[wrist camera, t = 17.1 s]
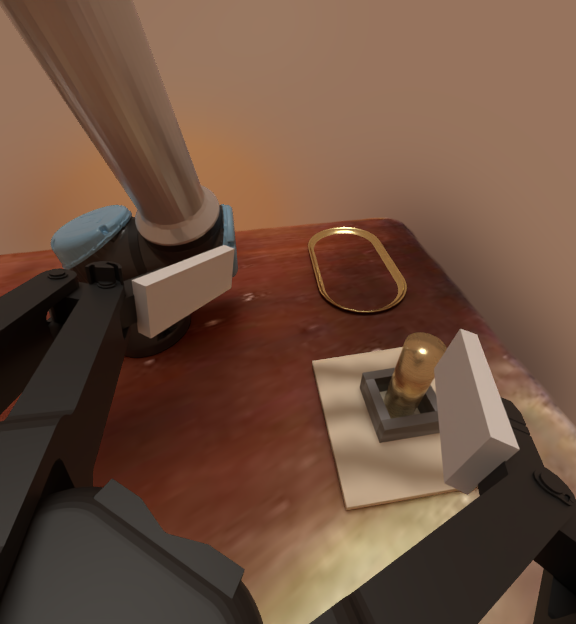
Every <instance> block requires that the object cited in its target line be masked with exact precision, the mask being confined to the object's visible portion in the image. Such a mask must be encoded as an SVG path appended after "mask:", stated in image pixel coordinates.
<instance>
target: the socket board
mask: <svg viewBox="0 0 576 624" xmlns="http://www.w3.org/2000/svg"><path fill="white" fill-rule="evenodd" d="M402 348H403V347H400V348H394V349H387V350H381V351H374V352H368V353H361V354H355V355H348V356H342V357H335V358H329V359H322V360H316V361H312V367H313V371H314V375H315V380H316V384H317V388H318V393H319V397H320V401H321V406H322V410H323V414H324V418H325V423H326V427H327V431H328V436H329V440H330V444H331V448H332V453H333V457H334V461H335V466H336V470H337V474H338V479H339V483H340V487H341V491H342V496H343V500H344V504H345V509H346V510H351V509H357V508H363V507H368V506H374V505H380V504H386V503H391V502H397V501H403V500H408V499H414V498H420V497H425V496H431V495H437V494H442V493H448V492H454V491H459V490H457V489H455V488H453V487H451V486H449V485H447V484H445V483H444V475H443V464H442V453H441V442H440V430H439V419H438V408H437V397H436V386H435V378H434V379H433V381H432V383H431V384H430V386H429V388H428V390H427V391H426V393H425V395H424V396H423V398H422V400H421V401H420V403H419V405H418V407H417V408H416V410H415V412H414V413H413V415H410V416H404V417H398V418H390V416H389V413H388V411H387V409H386V406H385V404H384V401H383V399H384V397H385V394H386V391H387V389H388V386H389V383H390V380H391V378H392V375H393V372H394V370H395V367H396V364H397V362H398V359H399V356H400V354H401V351H402ZM477 487H478V486H477Z"/></svg>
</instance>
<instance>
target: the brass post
mask: <svg viewBox="0 0 576 624" xmlns="http://www.w3.org/2000/svg"><path fill="white" fill-rule="evenodd" d="M446 350H447V348H446V346H445V344H444V343H443V342H442V341H441V340H440V339H438V338H437V337H435V336H433V335H431V334H427V333H414V334H411V335H409V336H408V337H407V338H406V340H405V343H404V346H403V348H402V351H401V354H400V356H399V359H398V362H397V364H396V367H395V370H394V372H393V375H392V378H391V380H390V383H389V386H388V389H387V391H386V394H385V397H384V399H383V401H384V404H385V406H386V409H387V411H388V413H389V416H390V418H398V417H404V416H410V415H413V413H414V412H415V410H416V408H417V407H418V405H419V403H420V401H421V400H422V398H423V396H424V395H425V393H426V391H427V390H428V388H429V386H430V384H431V383H432V381H433V379H434V378H435V375H434V368H435V366H436V365H437V363H438V362H439V360H440V359H441V357H442V356H443V354H444V353H445V351H446Z"/></svg>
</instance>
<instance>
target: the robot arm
mask: <svg viewBox="0 0 576 624" xmlns="http://www.w3.org/2000/svg"><path fill="white" fill-rule="evenodd" d="M0 6H1V8H2V9H3V10H4V12H5V13H6V15H7V16H8V18H9V19H10V21H11V22H12V24H13V25H14V27H15V28H16V30H17V31H18V33H19V34H20V36H21V37H22V39H23V40H24V41H25V43H26V45H27V46H28V48H29V49H30V50H31V52H32V53H33V55H34V56H35V58H36V59H37V61H38V62H39V64H40V65H41V67H42V68H43V70H44V71H45V73H46V74H47V76H48V77H49V79H50V80H51V81H52V83H53V84H54V86H55V87H56V89H57V91H58V92H59V93H60V95H61V96H62V98H63V99H64V101H65V102H66V104H67V105H68V107H69V108H70V110H71V111H72V113H73V114H74V116H75V117H76V119H77V120H78V122H79V123H80V125H81V126H82V128H83V129H84V131H85V132H86V133H87V135H88V136H89V138H90V139H91V141H92V142H93V144H94V145H95V147H96V148H97V150H98V151H99V153H100V154H101V156H102V157H103V159H104V160H105V162H106V163H107V165H108V166H109V168H110V169H111V171H112V172H113V173H114V175H115V176H116V178H117V179H118V181H119V182H120V184H121V185H122V187H123V188H124V190H125V191H126V193H127V194H128V196H129V197H130V199H131V200H132V201H133V203H134V205H135V206H136V208H137V209H138V210H137V212H136V216H135V217H132V213H131V211H129V210H128V209H127V208H126V207H125V206H122V205H121V206H119V205H111V206H106V207H102V208H99V209H96V210H93V211H91V212H88V213H86V214H83V215H81V216H79V217H77V218H75V219H74V220H71V221H70V222H68V223H67V224H65V225H64V226H62V227H61V228H60V229H59V230H58V231H57V232H56V233H55V234H54V235H53V237H52V239H51V247H52V250H53V251H54V253H55V254H56V256H57V257H58V259H59V260H60V262H61V263H62V267H63V268H64V269H52V270H49V271H45V272H43V273H40V274H39V275H37V276H35V277H34V278H32V279H30V280H29V281H27V282H25V283H23V284H22V285H20V286H18V287H17V288H15V289H13V290H12V291H10V292H8V293H6V294H5V295H3V296H1V297H0V414H1V413H2V412H3V411H4V410H5V409H6V408H7V407H8V406H9V405H10V404H11V403H12V402H13V401H14V400H15V399H16V398H17V397H18V396H19V395H20V394H21V393H22V394H21V396H20V397H19V399H18V401H17V402H16V404H15V405H14V407H13V409H12V410H11V412H10V414H9V415H8V417H7V418H6V419H5V420H4V421H1V422H0V624H263V622H262V618H261V615H260V613H259V610H258V608H257V606H256V603H255V601H254V599H253V597H252V596H251V594H250V592H249V590H248V589H247V588H246V586H245V585H244V583H243V582H242V581H241V579H242V576H243V573H244V570H245V569H243V568H242V567H240V566H239V565H237V564H236V563H234V562H233V561H232V560H230V559H229V558H227V557H226V556H224V555H223V554H221V553H220V552H218V551H217V550H216V549H214V548H213V547H211V546H210V545H208V544H204V543H200V542H197V541H193V540H189V539H185V538H182V537H178V536H174V535H170V534H167V533H166V532H164V531H163V530H162V528H161V527H160V525H159V524H158V522H157V521H156V519H155V518H154V517H153V515H152V514H151V512H150V511H149V509H148V508H147V506H146V505H145V503H144V502H143V500H142V499H141V498H140V497H138V496H137V495H135V494H134V493H133V492H131V491H130V490H128V489H127V488H125V487H124V486H122V485H121V484H119V483H118V482H116V481H115V480H114V479H111V480H110V481H109V482H108V483H107V484H106V485H105V486H104V487H103V488H102V487H93V469H94V464H95V460H96V457H97V453H98V450H99V446H100V442H101V439H102V435H103V432H104V428H105V424H106V421H107V417H108V413H109V410H110V406H111V403H112V399H113V395H114V392H115V388H116V384H117V381H118V377H119V374H120V370H121V366H122V363H123V359H124V356H127V357H134V358H138V357H146V356H151V355H154V354H157V353H159V352H162V351H164V350H166V349H167V348H169V347H171V346H172V345H174V344H175V343H176V342H177V341H178V340H180V339H181V337H182V336H183V335H184V334H185V333H186V331H187V329H188V328H189V325H190V321H191V316H190V314H191V313H192V312H194V311H195V310H197V309H199V308H200V307H202V306H203V305H205V304H206V303H208V302H210V301H211V300H213V299H214V298H216V297H218V296H219V295H221V294H222V293H224V292H226V291H227V290H229V289H230V288H231V283H232V277H234V276H235V275H236V273H237V271H238V264H237V252H236V241H235V231H234V221H233V212H232V208H231V207H230V206H229V205H224V204H222V205H219V203H218V200H217V198H216V196H215V195H214V193H213V192H212V191H210V190H209V189H208V188H206V187H204V186H201V185H200V182H199V179H198V176H197V174H196V171H195V169H194V166H193V163H192V160H191V158H190V155H189V152H188V150H187V147H186V144H185V141H184V138H183V136H182V133H181V130H180V128H179V125H178V122H177V119H176V117H175V114H174V111H173V109H172V106H171V103H170V100H169V98H168V95H167V92H166V90H165V87H164V84H163V81H162V79H161V76H160V73H159V70H158V68H157V65H156V63H155V60H154V57H153V54H152V51H151V49H150V46H149V43H148V41H147V38H146V35H145V32H144V30H143V27H142V24H141V22H140V19H139V16H138V13H137V11H136V8H135V5H134V3H133V0H0ZM48 311H49V313H50V316H51V317H50V318H49V319H48V320H46V315H47V312H48ZM434 375H435V386H436V397H437V408H438V419H439V430H440V442H441V453H442V464H443V475H444V483H445V484H447V485H449V486H451V487H453V488H455V489H457V490H459V491H461V492H463V493H465V494H467V495H468V494H469V493H470V492H471V491H473V490H474V489H475V488H476V487H477V486H478V489H479V494H480V496H479V497H478V498H477V499H475V500H474V501H473V502H471V503H470V504H469V505H468V506H466V507H465V508H464V509H462V510H461V511H460V512H458V513H457V514H456V515H454V516H453V517H452V518H450V519H449V520H448V521H446V522H445V523H444V524H442V525H441V526H440V527H438V528H437V529H436V530H434V531H433V532H432V533H431V534H429V535H428V536H427V537H425V538H424V539H423V540H421V541H420V542H419V543H417V544H416V545H415V546H413V547H412V548H411V549H409V550H408V551H407V552H405V553H404V554H403V555H401V556H400V557H399V558H398V559H396V560H395V561H394V562H392V563H391V564H390V565H388V566H387V567H386V568H384V569H383V570H382V571H380V572H379V573H378V574H376V575H375V576H374V577H372V578H371V579H370V580H368V581H367V582H366V583H364V584H363V585H362V586H361V587H359V588H358V589H357V590H355V591H354V592H352V593H351V594H350V595H348V596H346V597H345V598H343V599H342V600H340V601H339V602H338V603H336V604H335V605H334V606H332V607H331V608H330V609H328V610H327V611H326V612H324V613H323V614H322V615H320V616H319V617H318V618H316V619H315V620H314V621H312V622H311V623H310V624H478V623H479V622H480V621H481V619H482V618H483V617H484V616H485V615H486V614H487V612H488V611H489V610H490V609H491V608H492V607H493V606H494V604H495V603H496V602H497V601H498V600H499V599H500V597H501V596H502V595H503V594H504V593H505V592H506V591H507V589H508V588H509V587H510V586H511V585H512V584H513V582H514V581H515V580H516V579H517V578H518V577H519V576H520V574H521V573H522V572H523V571H524V570H525V569H526V567H527V566H528V565H529V564H530V563H531V562H532V560H534V561H535V562H537V563H538V564H539V565H540V566H542V567H543V568H544V570H543V575H542V581H541V586H540V591H539V596H538V601H537V606H536V612H535V617H534V622H533V624H576V499H575V496H574V494H573V493H572V492H571V490H570V489H569V487H568V486H567V485H566V484H565V483H564V482H563V481H562V480H561V479H560V478H559V477H558V476H557V475H555V474H554V473H553V472H551V471H550V470H549V469H547V468H545V467H544V465H543V463H542V460H541V458H540V456H539V453H538V451H537V449H536V447H535V444H534V442H533V440H532V437H531V436H530V433H529V430H528V428H527V427H526V423H525V421H524V419H523V417H522V414H521V413H520V411H519V410H518V409H517V408H516V407H515V405H514V404H513V403H512V402H511V401H509V400H506V399H504V398H501V397H500V395H499V393H498V390H497V387H496V384H495V382H494V379H493V376H492V374H491V371H490V368H489V366H488V363H487V360H486V358H485V355H484V352H483V350H482V347H481V344H480V341H479V339H478V336H477V335H476V334H474V333H471V332H468V331H465V330H462V329H460V330H459V332H458V333H457V335H456V336H455V338H454V339H453V341H452V342H451V344H450V345H449V347H448V348H447V350H446V351H445V353H444V354H443V356H442V357H441V359H440V360H439V362H438V363H437V365H436V366H435V368H434Z"/></svg>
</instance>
